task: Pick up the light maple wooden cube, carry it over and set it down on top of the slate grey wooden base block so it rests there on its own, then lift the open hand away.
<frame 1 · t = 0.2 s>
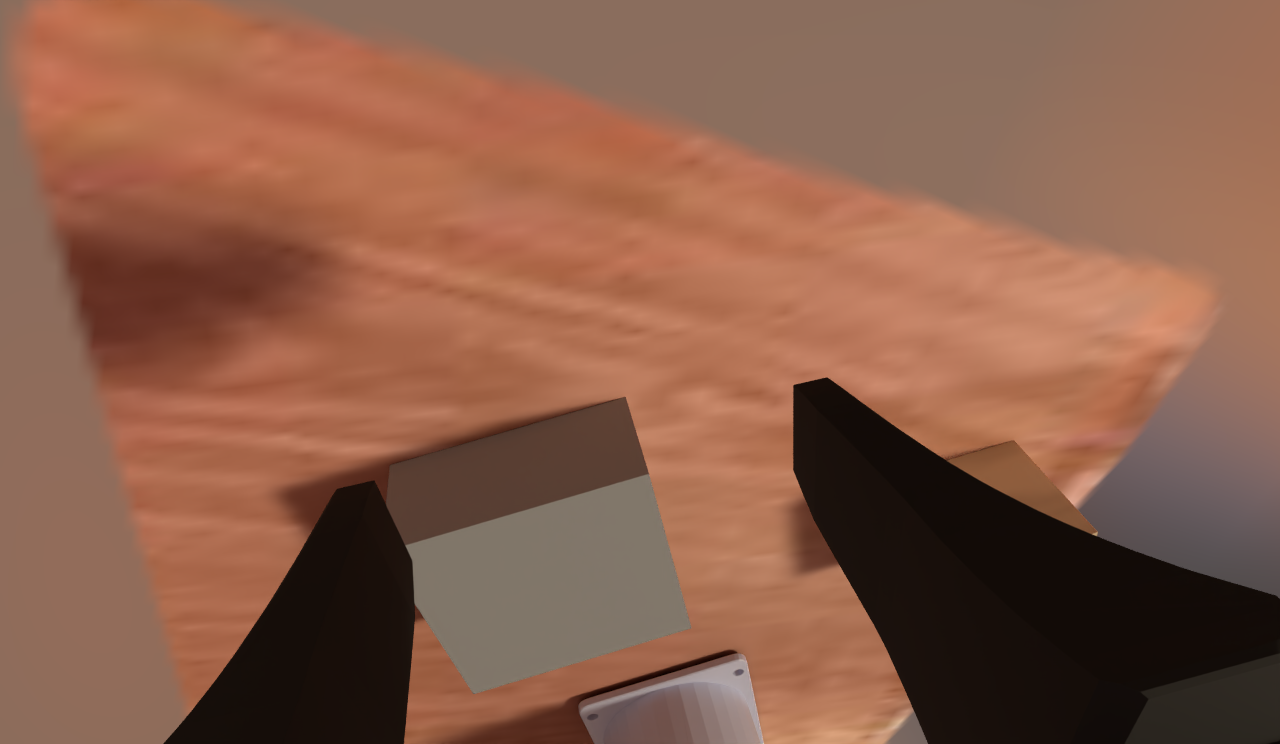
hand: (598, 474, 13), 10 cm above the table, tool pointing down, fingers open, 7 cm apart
slate base block: (541, 505, 27), on the table
maple cube: (952, 496, 31), on the table
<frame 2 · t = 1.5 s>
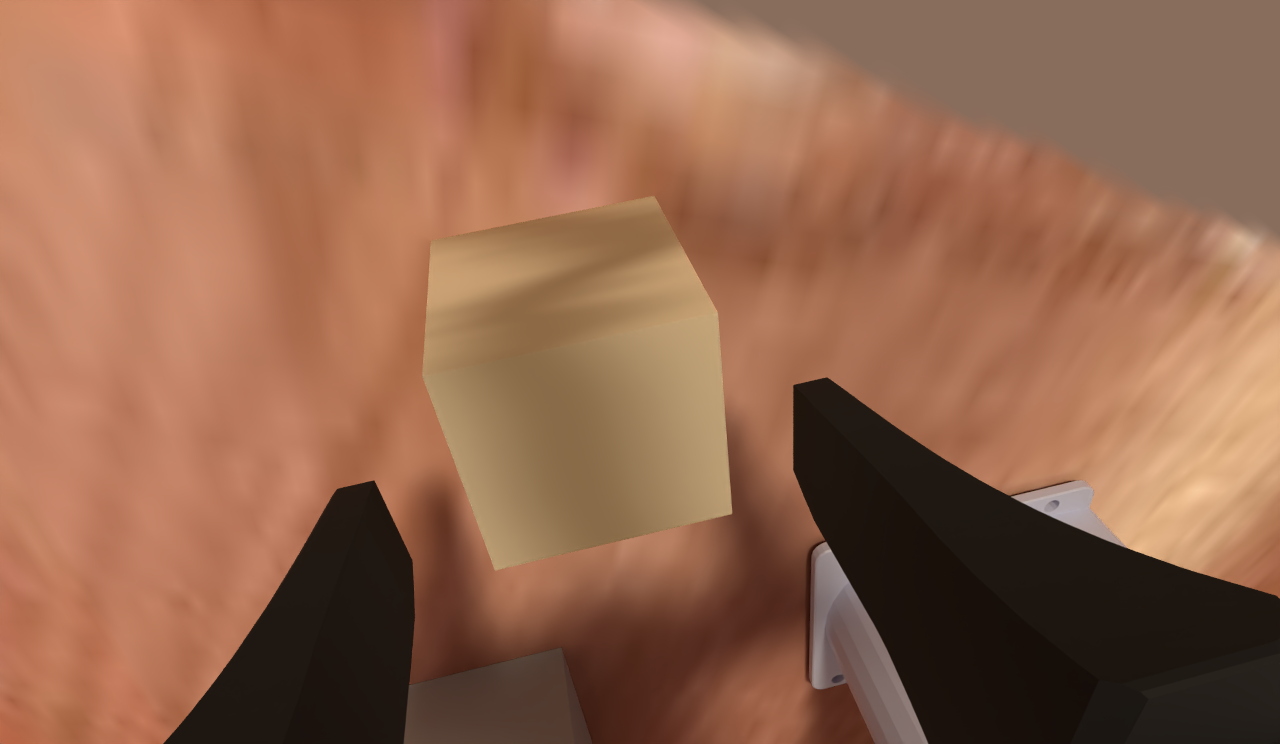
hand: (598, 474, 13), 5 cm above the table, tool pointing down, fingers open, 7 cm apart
slate base block: (471, 731, 27), on the table
maple cube: (564, 311, 17), on the table
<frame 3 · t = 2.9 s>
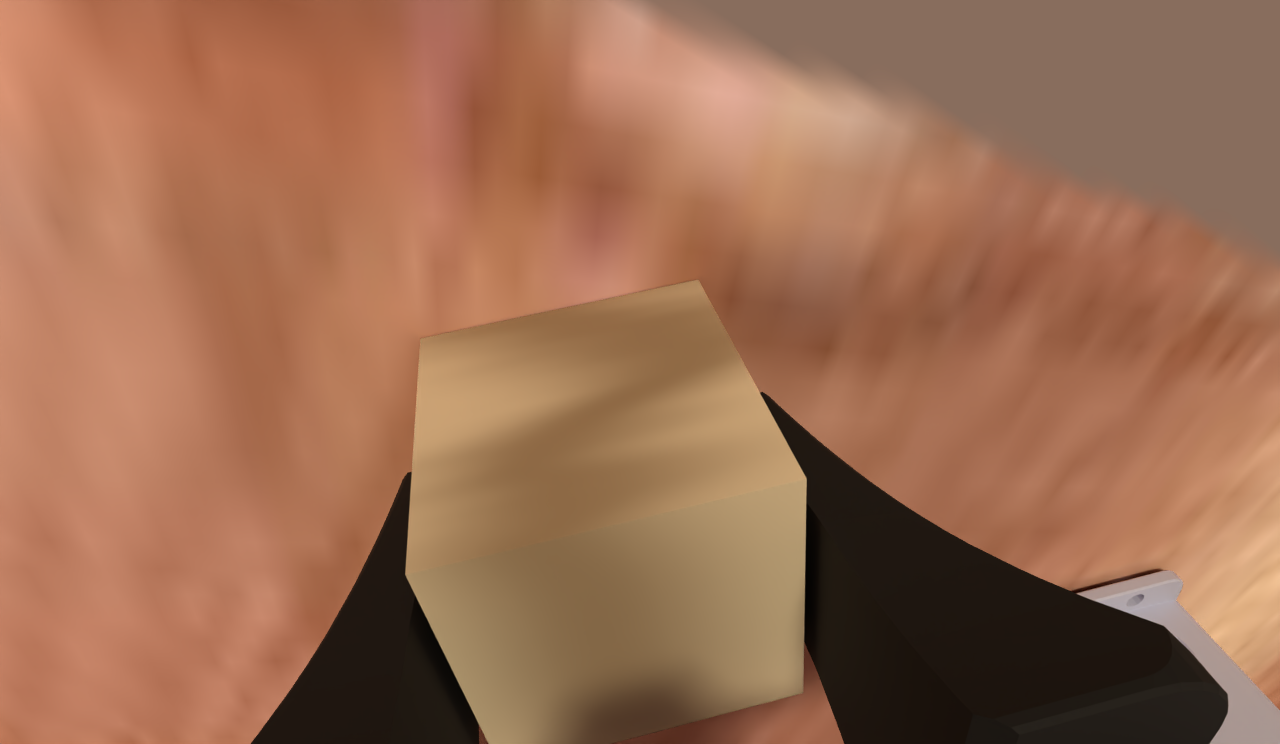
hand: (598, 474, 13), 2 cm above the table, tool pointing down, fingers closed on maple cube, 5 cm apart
maple cube: (584, 415, 14), on the table, touching gripper
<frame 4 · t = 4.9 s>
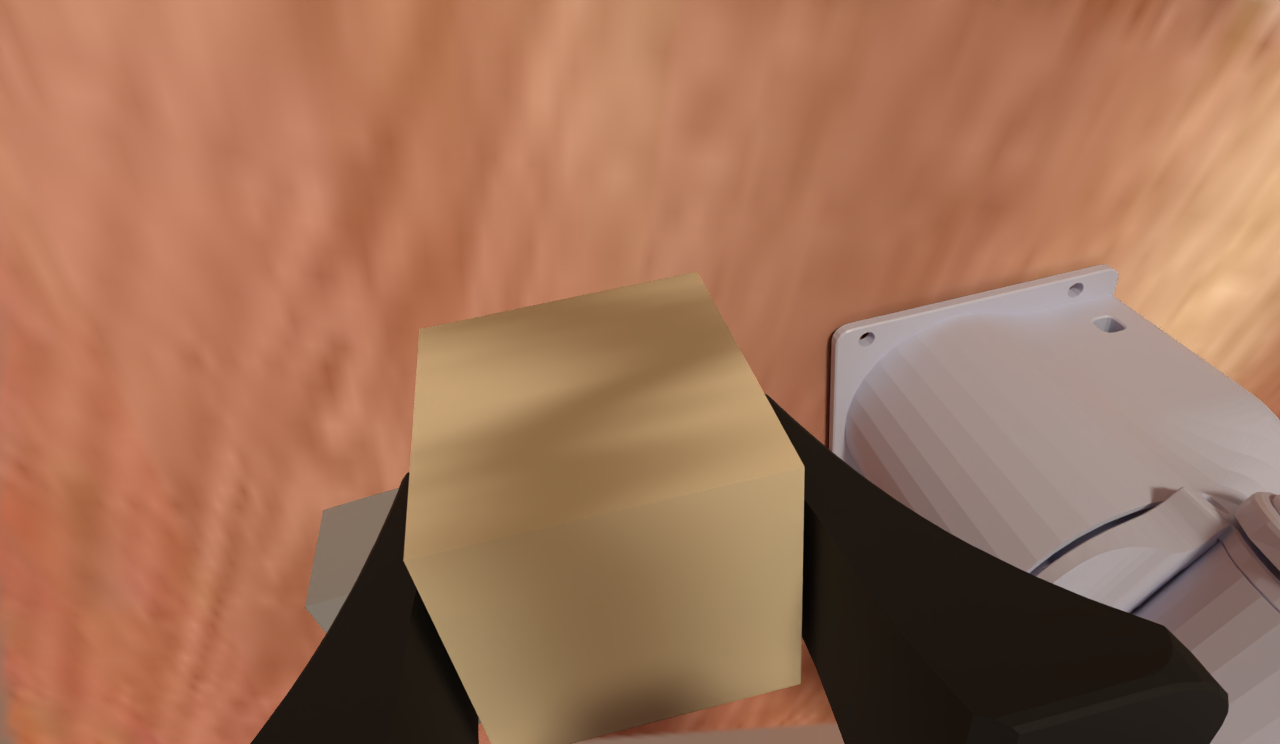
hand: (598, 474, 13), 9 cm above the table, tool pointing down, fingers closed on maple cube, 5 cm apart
slate base block: (486, 546, 26), on the table
maple cube: (583, 407, 14), point 7 cm above the table, touching gripper
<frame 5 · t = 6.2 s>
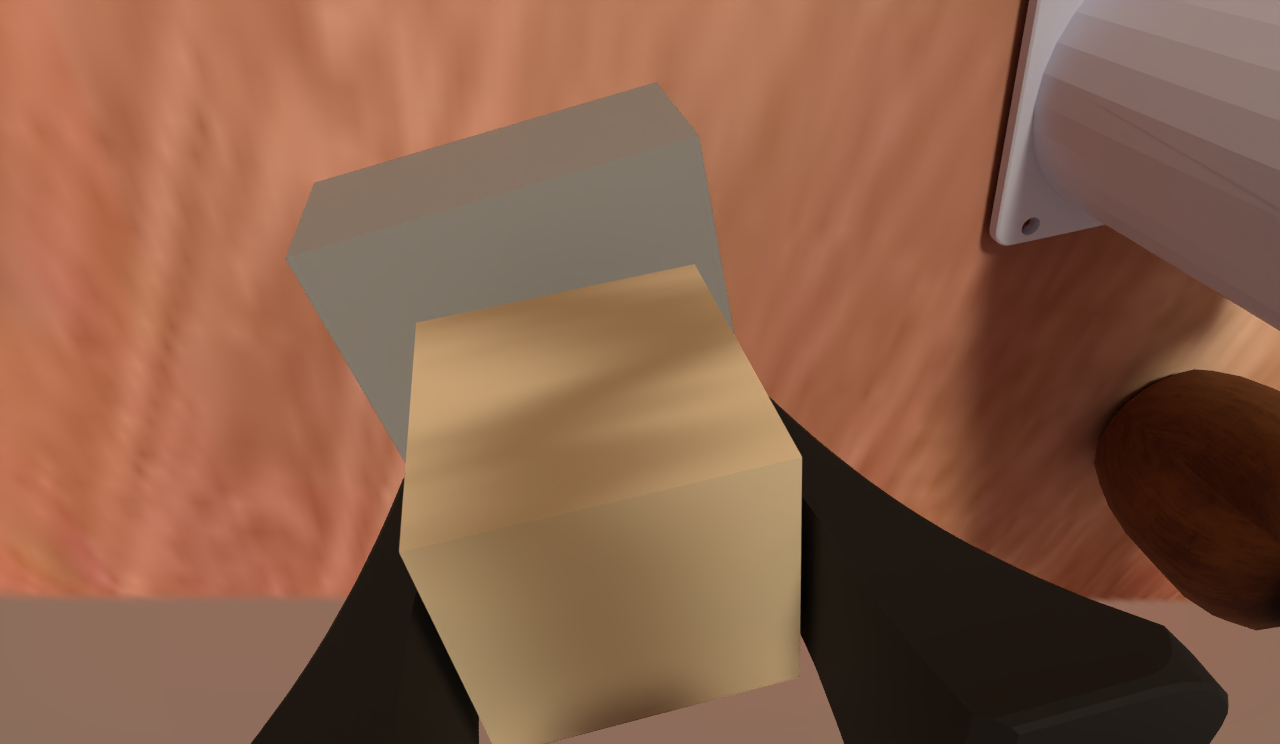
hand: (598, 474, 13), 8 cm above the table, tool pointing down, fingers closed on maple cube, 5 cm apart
slate base block: (538, 275, 20), on the table
wooden figurine: (1144, 413, 28), on the table
maple cube: (581, 401, 14), point 6 cm above the table, touching gripper
when the fingers open (7 cm above the table, at t = 7.2 s): maple cube drops 2 cm, resting on slate base block.
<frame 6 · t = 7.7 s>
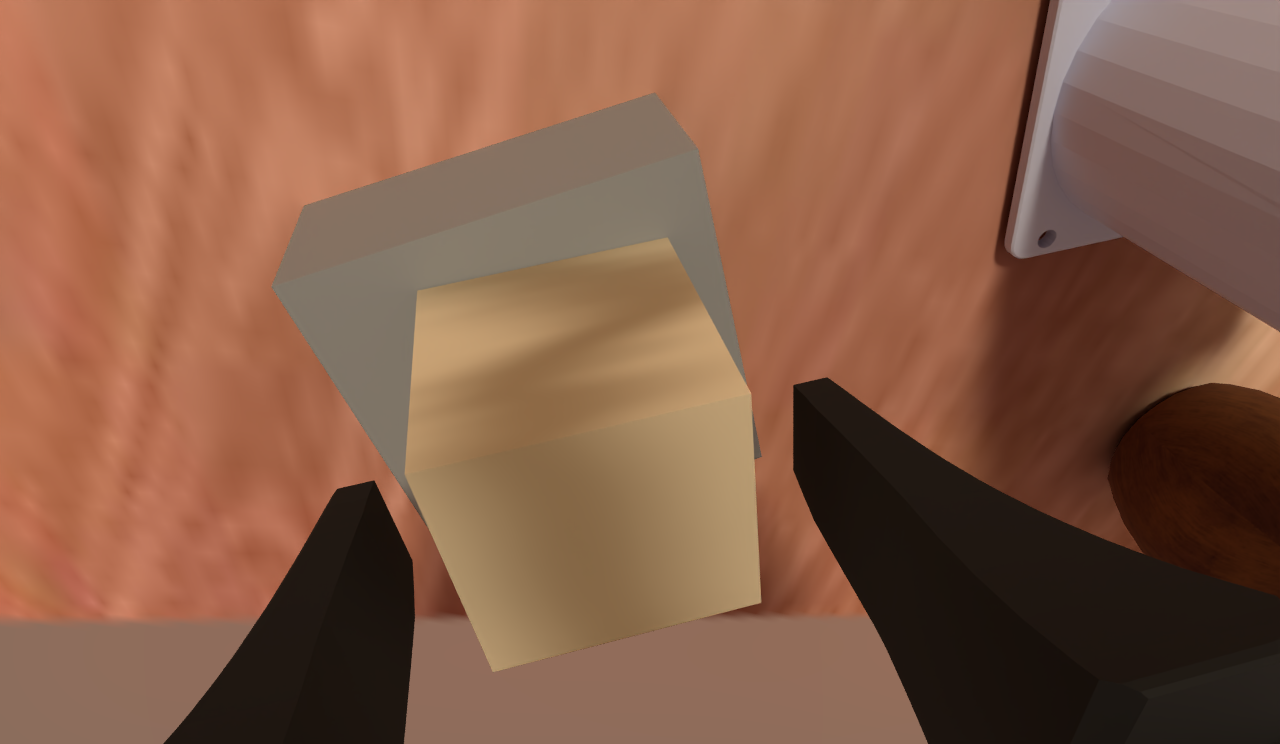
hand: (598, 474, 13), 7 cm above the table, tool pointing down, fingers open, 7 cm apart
slate base block: (537, 292, 19), on the table, touching maple cube
wooden figurine: (1159, 427, 27), on the table
maple cube: (567, 364, 16), point 4 cm above the table, touching slate base block
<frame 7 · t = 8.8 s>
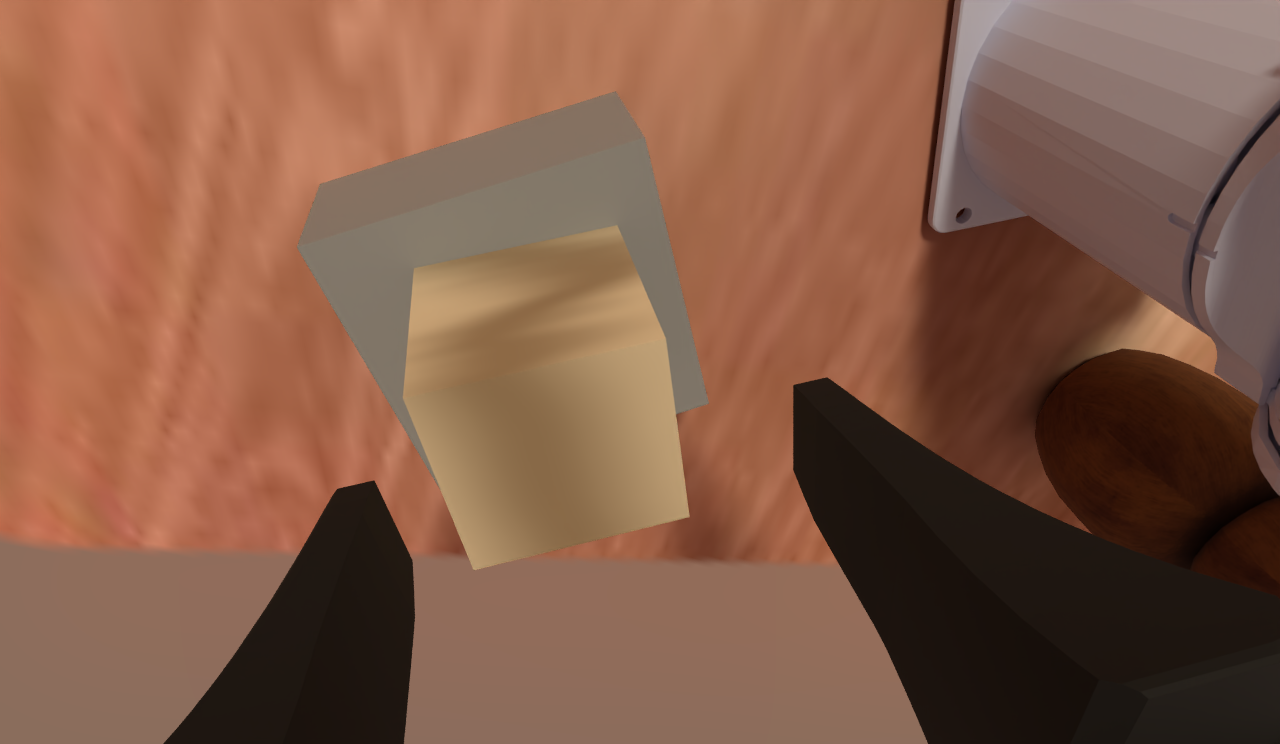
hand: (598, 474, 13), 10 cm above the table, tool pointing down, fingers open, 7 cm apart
slate base block: (518, 263, 22), on the table
wooden figurine: (1081, 390, 30), on the table
maple cube: (538, 331, 19), point 4 cm above the table
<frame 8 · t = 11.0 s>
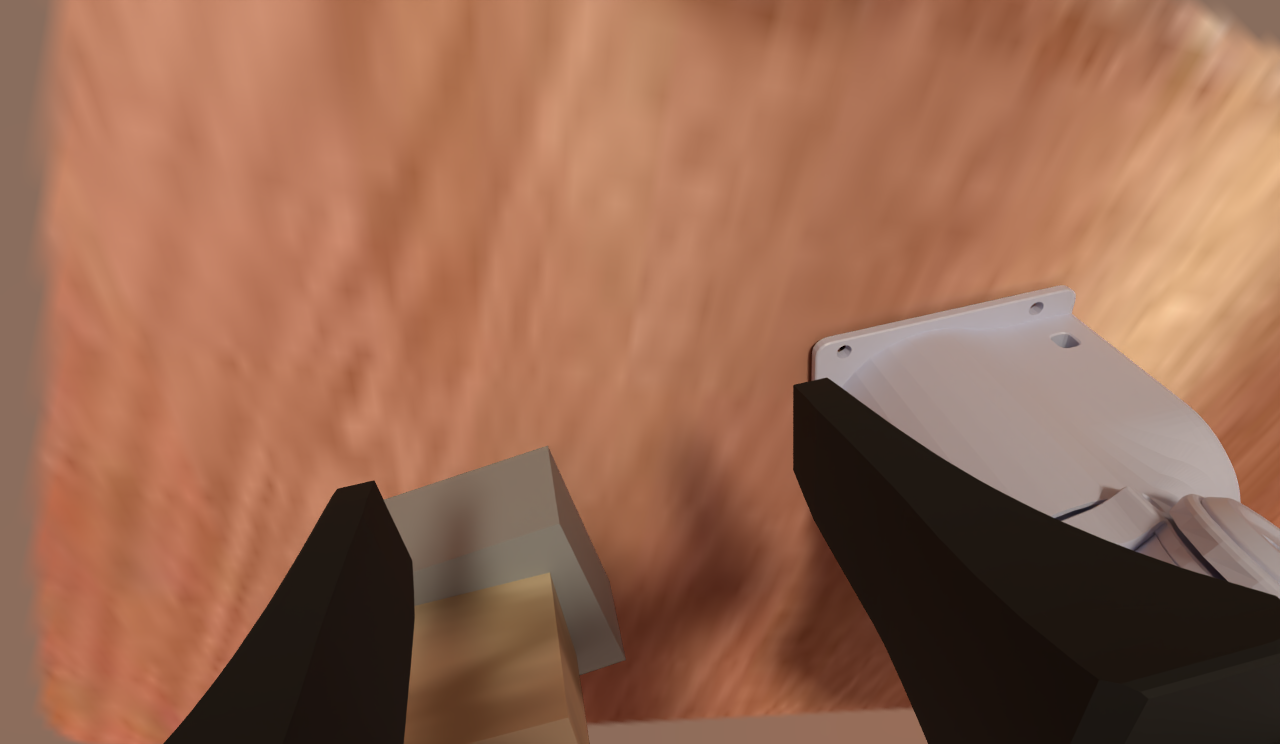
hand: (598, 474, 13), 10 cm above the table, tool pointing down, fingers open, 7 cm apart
slate base block: (480, 546, 29), on the table, touching maple cube
maple cube: (494, 633, 26), point 4 cm above the table, touching slate base block
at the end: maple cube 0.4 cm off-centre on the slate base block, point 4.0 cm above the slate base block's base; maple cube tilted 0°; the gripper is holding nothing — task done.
